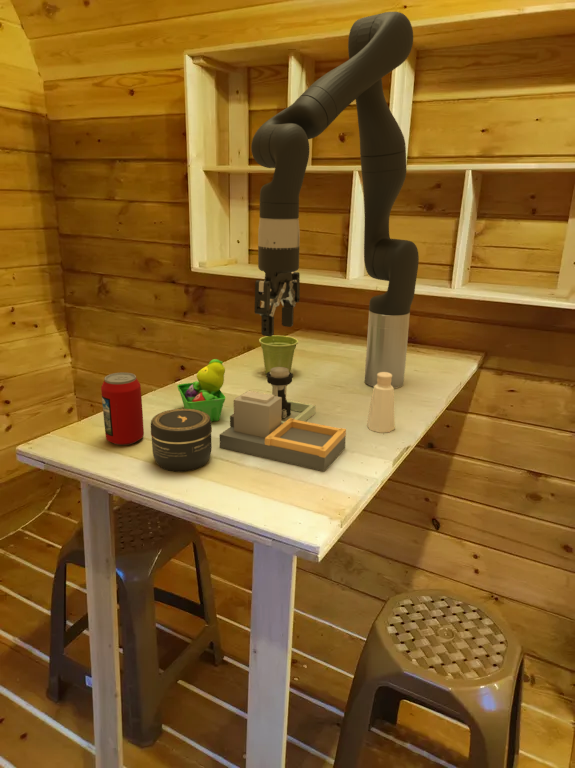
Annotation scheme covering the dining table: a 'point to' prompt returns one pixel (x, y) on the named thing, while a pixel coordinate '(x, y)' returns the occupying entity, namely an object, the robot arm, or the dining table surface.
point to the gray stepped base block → (280, 434)
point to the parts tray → (302, 410)
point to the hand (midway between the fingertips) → (277, 330)
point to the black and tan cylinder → (280, 386)
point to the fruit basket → (205, 390)
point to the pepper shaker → (382, 405)
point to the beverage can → (122, 408)
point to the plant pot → (278, 351)
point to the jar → (181, 439)
